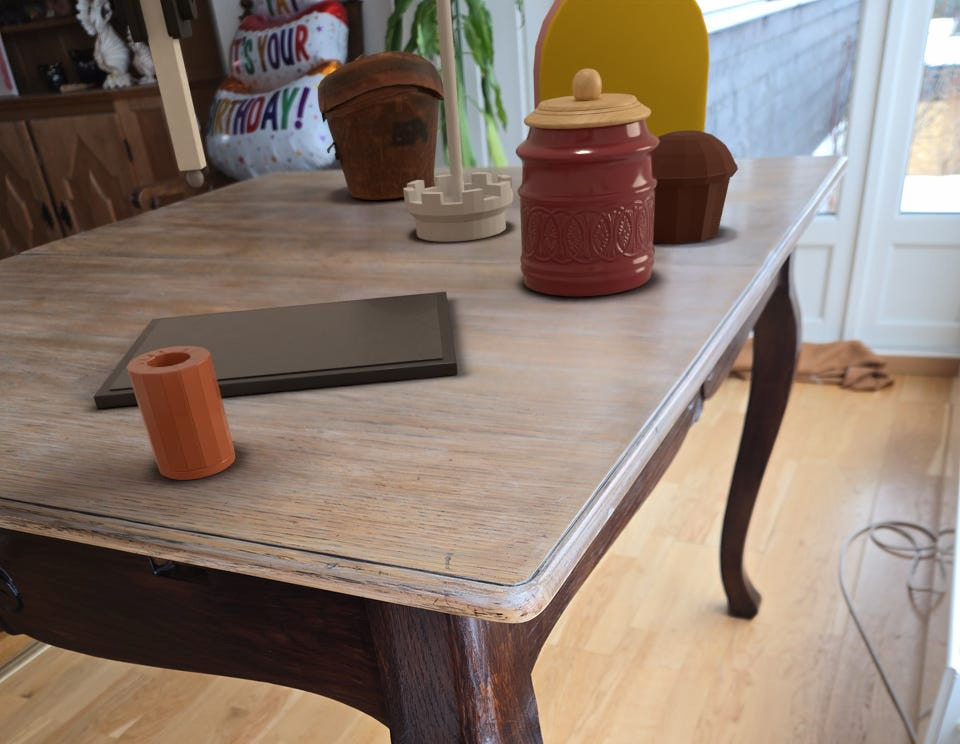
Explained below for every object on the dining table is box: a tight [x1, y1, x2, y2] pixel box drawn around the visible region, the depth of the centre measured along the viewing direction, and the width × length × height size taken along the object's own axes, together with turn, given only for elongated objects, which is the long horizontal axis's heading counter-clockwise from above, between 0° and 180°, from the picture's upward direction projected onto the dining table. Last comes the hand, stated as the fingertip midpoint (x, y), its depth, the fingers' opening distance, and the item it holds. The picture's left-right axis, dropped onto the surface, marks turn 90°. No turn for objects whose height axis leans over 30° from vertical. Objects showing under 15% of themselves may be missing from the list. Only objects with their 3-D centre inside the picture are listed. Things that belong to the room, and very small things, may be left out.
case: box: [317, 50, 444, 201], centre depth 128 cm, size 18×20×18 cm
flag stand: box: [403, 0, 514, 243], centre depth 101 cm, size 13×13×30 cm
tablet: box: [93, 291, 458, 410], centre depth 77 cm, size 28×20×1 cm
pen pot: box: [127, 346, 236, 481], centre depth 57 cm, size 5×5×7 cm
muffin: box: [653, 130, 739, 245], centre depth 97 cm, size 12×11×10 cm
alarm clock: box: [532, 0, 710, 137], centre depth 113 cm, size 21×9×26 cm, turn 93°
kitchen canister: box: [515, 69, 659, 297], centre depth 83 cm, size 13×13×18 cm
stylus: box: [140, 0, 207, 188], centre depth 51 cm, size 1×1×13 cm
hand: (163, 37), depth 50 cm, fingers closed on stylus, 1 cm apart
